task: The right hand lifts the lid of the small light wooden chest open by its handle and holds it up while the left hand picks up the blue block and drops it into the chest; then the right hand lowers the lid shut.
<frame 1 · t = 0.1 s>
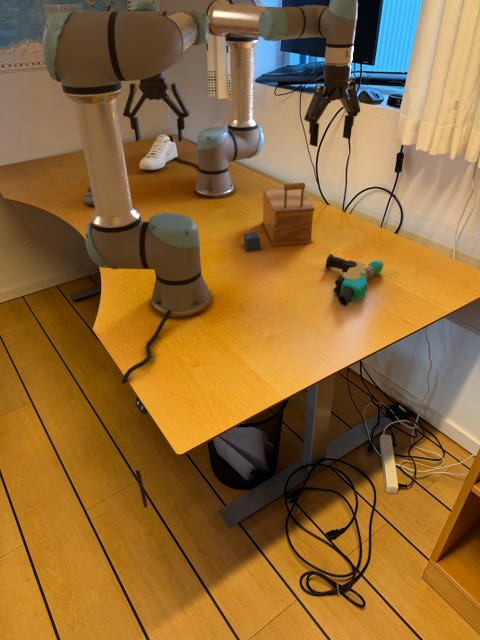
left hand: (159, 140, 150), 28 cm above the table, tool pointing down, fingers open, 13 cm apart
right hand: (330, 141, 146), 28 cm above the table, tool pointing down, fingers open, 13 cm apart
toy gun 2: (345, 284, 132), on the table
block: (251, 247, 150), on the table
sneaker: (158, 164, 218), on the table
toy gun: (109, 201, 182), on the table
lid: (288, 188, 149), point 15 cm above the table, hinge at -0.1°
chest: (285, 232, 159), on the table
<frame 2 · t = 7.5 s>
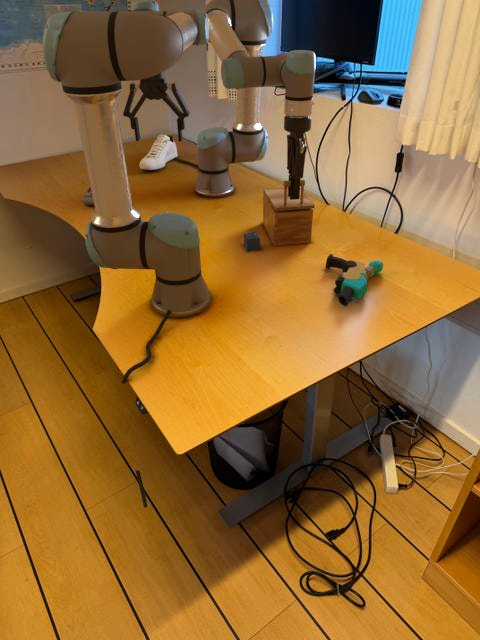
left hand: (159, 140, 150), 28 cm above the table, tool pointing down, fingers open, 13 cm apart
right hand: (293, 197, 144), 15 cm above the table, tool pointing down, fingers closed on lid, 2 cm apart
lid: (288, 186, 149), point 16 cm above the table, hinge at 2.7°, touching right hand
everything else where it was.
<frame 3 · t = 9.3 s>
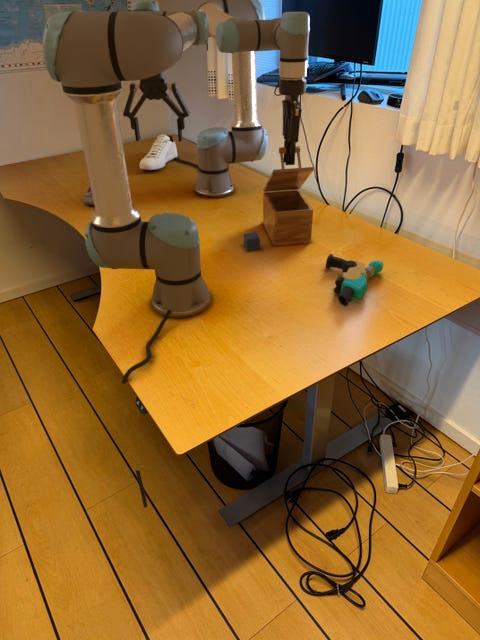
left hand: (159, 140, 150), 28 cm above the table, tool pointing down, fingers open, 13 cm apart
right hand: (289, 163, 145), 23 cm above the table, tool pointing down, fingers closed on lid, 2 cm apart
lid: (285, 168, 150), point 20 cm above the table, hinge at 37.7°, touching right hand
everything else where it was.
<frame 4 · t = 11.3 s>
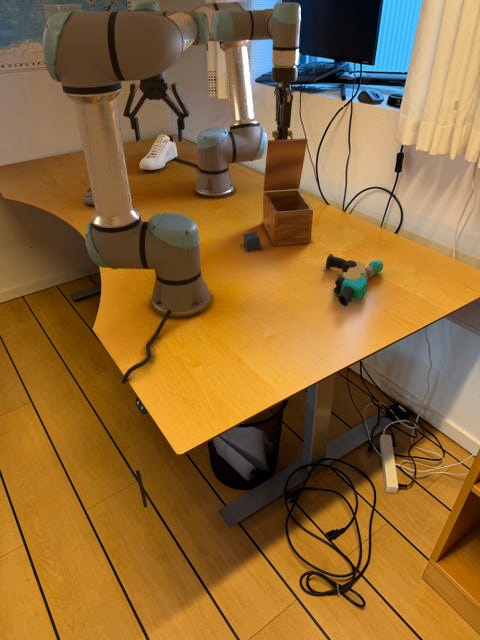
left hand: (159, 140, 150), 28 cm above the table, tool pointing down, fingers open, 13 cm apart
right hand: (281, 148, 153), 25 cm above the table, tool pointing down, fingers closed on lid, 2 cm apart
lid: (282, 158, 154), point 22 cm above the table, hinge at 71.6°, touching right hand
everything else where it was.
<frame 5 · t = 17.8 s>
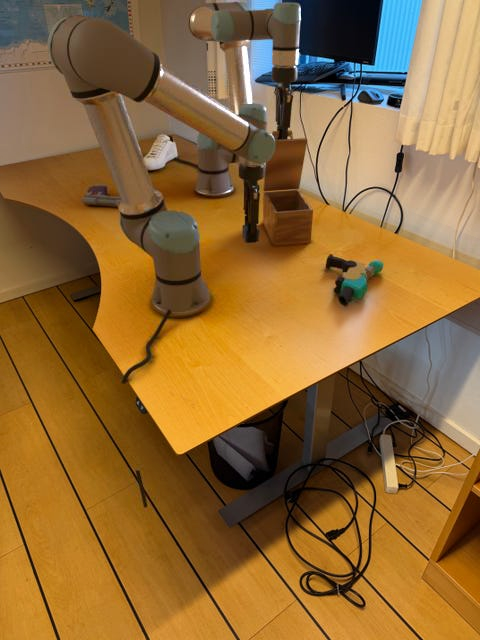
left hand: (250, 238, 148), 3 cm above the table, tool pointing down, fingers closed on block, 4 cm apart
right hand: (281, 148, 153), 25 cm above the table, tool pointing down, fingers closed on lid, 2 cm apart
block: (250, 239, 148), point 3 cm above the table, touching left hand
lid: (281, 158, 154), point 22 cm above the table, hinge at 71.9°, touching right hand
everything else where it was.
when the left hand's fingers open (18 cm above the table, at t = 20.8 s): block drops 17 cm, resting on chest.
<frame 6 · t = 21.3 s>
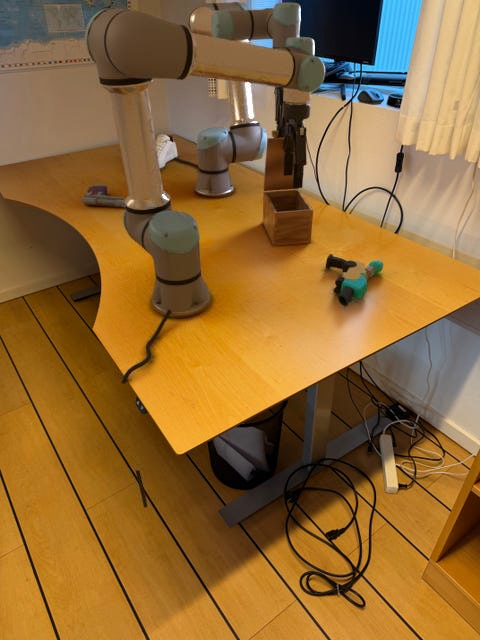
left hand: (292, 181, 143), 19 cm above the table, tool pointing down, fingers open, 11 cm apart
right hand: (281, 147, 153), 25 cm above the table, tool pointing down, fingers closed on lid, 2 cm apart
block: (289, 236, 155), point 1 cm above the table, touching chest
lid: (281, 158, 154), point 22 cm above the table, hinge at 75.2°, touching left hand, right hand
chest: (285, 232, 159), on the table, touching block
everything else where it was.
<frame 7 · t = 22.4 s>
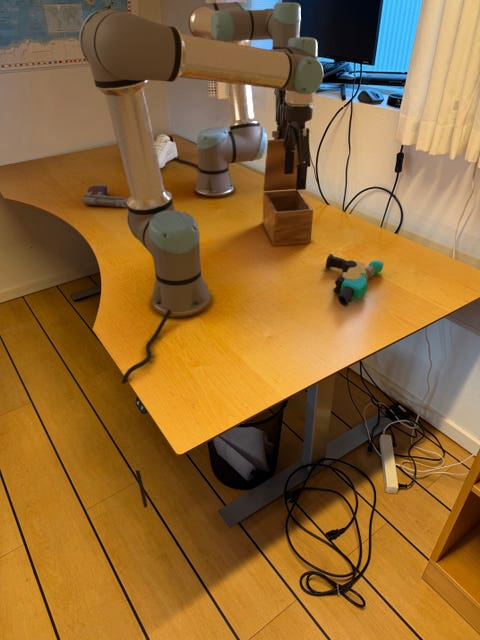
left hand: (294, 181, 141), 20 cm above the table, tool pointing down, fingers open, 13 cm apart
right hand: (281, 148, 153), 25 cm above the table, tool pointing down, fingers closed on lid, 2 cm apart
lid: (281, 158, 154), point 22 cm above the table, hinge at 72.3°, touching right hand
everything else where it was.
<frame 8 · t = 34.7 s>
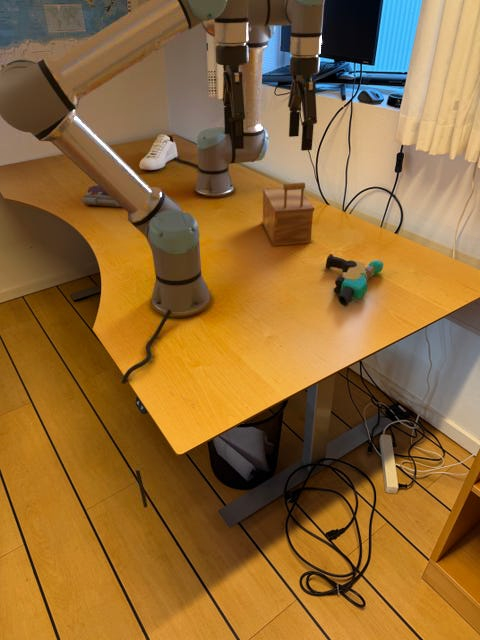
left hand: (233, 140, 120), 36 cm above the table, tool pointing down, fingers open, 13 cm apart
right hand: (299, 143, 132), 32 cm above the table, tool pointing down, fingers open, 13 cm apart
lid: (288, 188, 149), point 15 cm above the table, hinge at -0.1°
everything else where it was.
at the end: block inside the target area in the chest (4.5 cm from its centre), point 0.8 cm above the chest's base; lid at +0° (first picture: +0°); the left hand is holding nothing; the right hand is holding nothing; chest tilted 0°; chest moved 0.1 cm from its start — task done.
